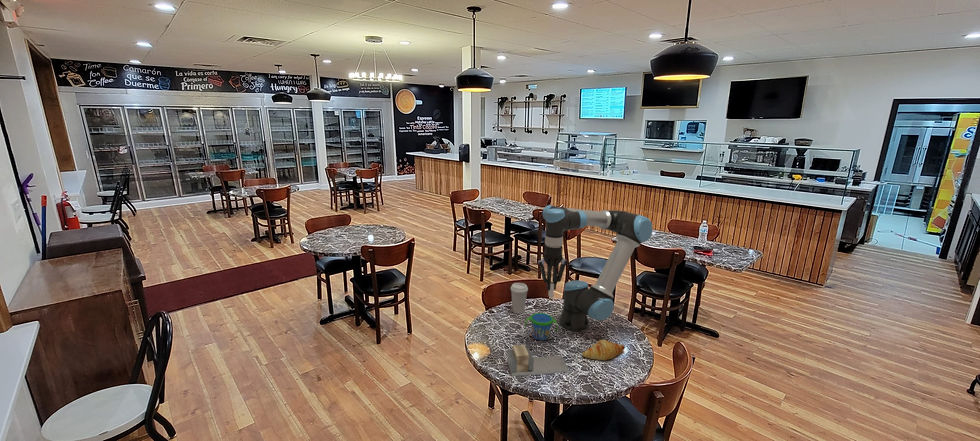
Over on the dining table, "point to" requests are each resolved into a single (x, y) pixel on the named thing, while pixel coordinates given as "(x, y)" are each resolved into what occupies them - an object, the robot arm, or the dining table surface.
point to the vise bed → (544, 366)
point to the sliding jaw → (530, 359)
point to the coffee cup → (519, 297)
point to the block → (521, 357)
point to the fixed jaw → (512, 360)
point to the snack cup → (541, 325)
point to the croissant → (603, 350)
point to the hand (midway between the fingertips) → (550, 296)
